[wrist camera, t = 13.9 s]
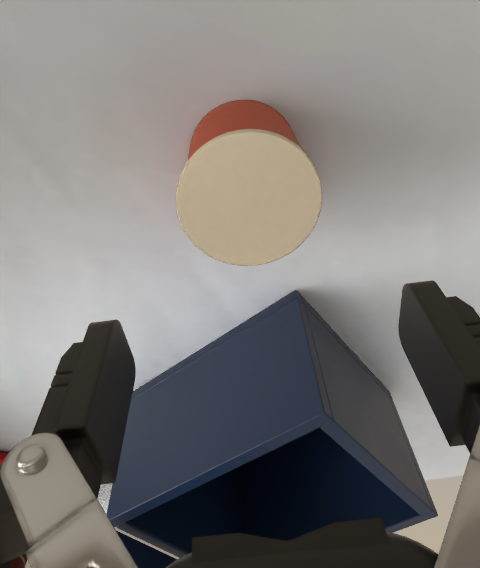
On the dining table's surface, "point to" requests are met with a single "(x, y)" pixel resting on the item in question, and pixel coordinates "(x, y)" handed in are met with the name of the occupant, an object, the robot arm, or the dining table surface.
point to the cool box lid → (145, 554)
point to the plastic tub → (247, 186)
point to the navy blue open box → (265, 440)
